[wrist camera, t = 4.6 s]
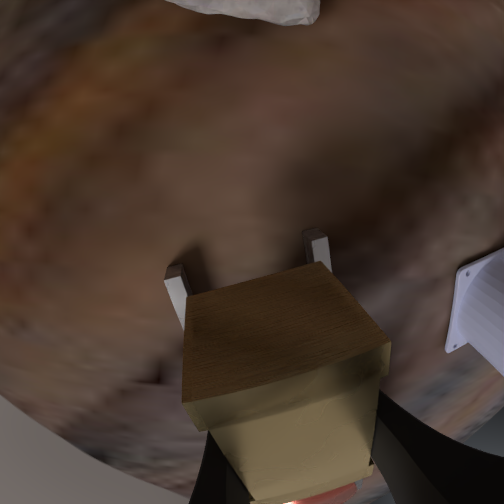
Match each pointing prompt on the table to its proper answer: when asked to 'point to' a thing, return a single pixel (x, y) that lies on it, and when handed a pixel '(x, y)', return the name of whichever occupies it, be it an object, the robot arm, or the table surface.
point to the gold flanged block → (285, 381)
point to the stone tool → (259, 9)
